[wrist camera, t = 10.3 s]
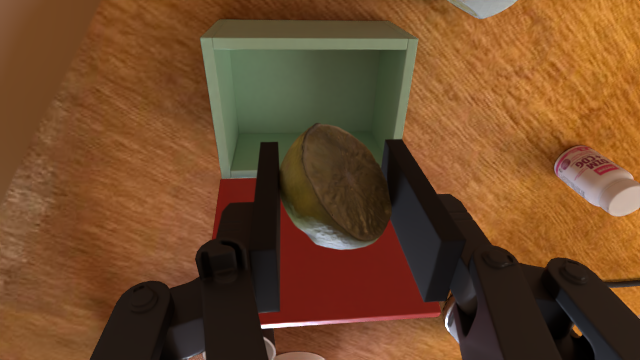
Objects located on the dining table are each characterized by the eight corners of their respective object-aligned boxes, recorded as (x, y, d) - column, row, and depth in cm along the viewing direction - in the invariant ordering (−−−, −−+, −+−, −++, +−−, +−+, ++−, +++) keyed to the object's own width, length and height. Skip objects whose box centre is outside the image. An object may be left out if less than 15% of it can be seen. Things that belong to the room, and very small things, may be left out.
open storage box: (218, 19, 31) (199, 37, 24) (389, 20, 32) (418, 38, 25) (233, 137, 37) (221, 178, 30) (376, 134, 39) (396, 173, 32)
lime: (282, 107, 14) (283, 171, 10) (394, 119, 15) (436, 184, 11) (274, 194, 17) (271, 275, 13) (370, 200, 17) (398, 279, 13)
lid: (198, 328, 21) (201, 333, 22) (442, 312, 23) (438, 317, 23) (220, 178, 30) (221, 184, 30) (398, 173, 31) (397, 179, 32)
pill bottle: (580, 137, 41) (642, 174, 34) (598, 158, 43) (660, 197, 36) (545, 164, 43) (597, 205, 36) (564, 184, 45) (616, 226, 38)
